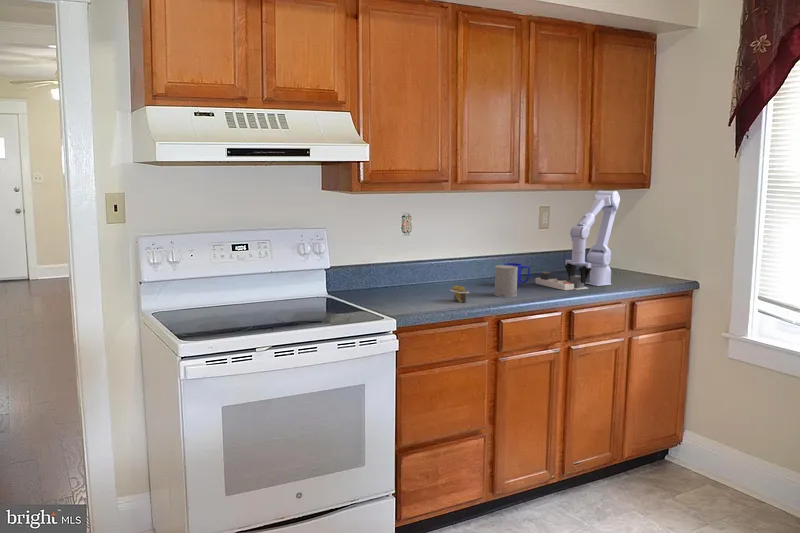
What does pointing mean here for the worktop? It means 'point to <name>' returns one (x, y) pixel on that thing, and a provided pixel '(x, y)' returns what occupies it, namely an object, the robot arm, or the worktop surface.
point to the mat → (580, 288)
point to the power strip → (553, 282)
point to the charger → (576, 281)
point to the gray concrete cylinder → (506, 280)
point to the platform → (459, 293)
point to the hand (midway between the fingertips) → (577, 281)
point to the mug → (519, 271)
